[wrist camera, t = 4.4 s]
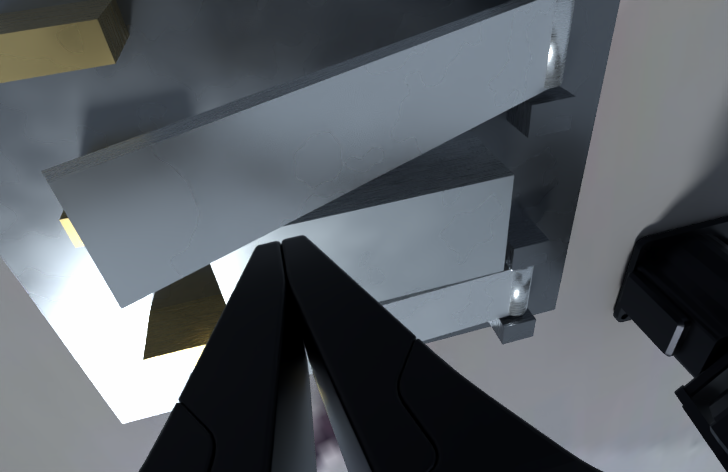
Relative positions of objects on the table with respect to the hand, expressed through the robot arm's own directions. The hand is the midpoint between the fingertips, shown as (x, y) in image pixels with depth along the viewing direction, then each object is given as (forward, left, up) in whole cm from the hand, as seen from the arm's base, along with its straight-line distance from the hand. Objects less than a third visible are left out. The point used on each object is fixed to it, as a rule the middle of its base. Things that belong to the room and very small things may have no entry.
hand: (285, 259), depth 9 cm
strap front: (-3, 0, -5) cm, 6 cm away
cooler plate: (-2, +5, -11) cm, 12 cm away
